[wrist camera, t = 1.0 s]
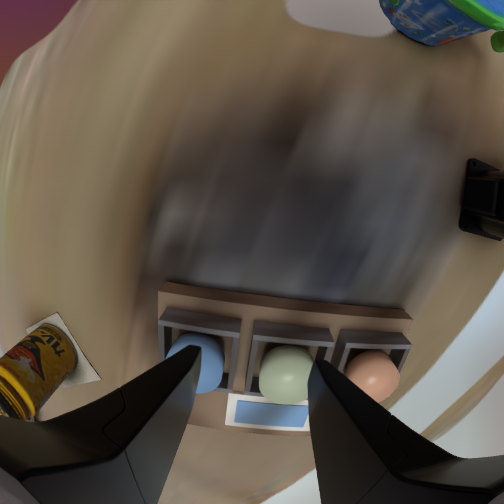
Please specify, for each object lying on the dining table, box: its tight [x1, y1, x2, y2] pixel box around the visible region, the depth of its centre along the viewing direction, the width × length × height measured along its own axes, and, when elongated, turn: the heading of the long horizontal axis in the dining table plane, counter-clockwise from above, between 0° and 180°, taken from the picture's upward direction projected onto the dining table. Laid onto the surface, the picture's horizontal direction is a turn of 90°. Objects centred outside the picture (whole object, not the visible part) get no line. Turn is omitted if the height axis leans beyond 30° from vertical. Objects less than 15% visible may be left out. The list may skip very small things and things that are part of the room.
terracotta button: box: [344, 350, 400, 403], centre depth 19 cm, size 4×4×2 cm
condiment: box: [0, 313, 101, 421], centre depth 19 cm, size 7×8×12 cm
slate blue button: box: [166, 333, 225, 394], centre depth 19 cm, size 4×4×2 cm
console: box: [158, 282, 413, 436], centre depth 22 cm, size 20×14×4 cm
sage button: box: [259, 345, 314, 405], centre depth 19 cm, size 4×4×2 cm
